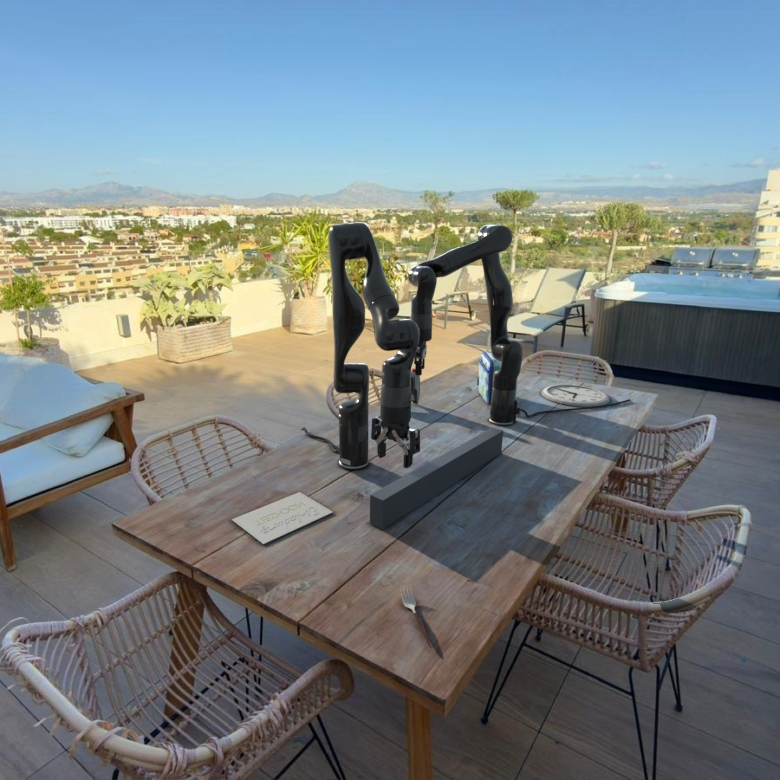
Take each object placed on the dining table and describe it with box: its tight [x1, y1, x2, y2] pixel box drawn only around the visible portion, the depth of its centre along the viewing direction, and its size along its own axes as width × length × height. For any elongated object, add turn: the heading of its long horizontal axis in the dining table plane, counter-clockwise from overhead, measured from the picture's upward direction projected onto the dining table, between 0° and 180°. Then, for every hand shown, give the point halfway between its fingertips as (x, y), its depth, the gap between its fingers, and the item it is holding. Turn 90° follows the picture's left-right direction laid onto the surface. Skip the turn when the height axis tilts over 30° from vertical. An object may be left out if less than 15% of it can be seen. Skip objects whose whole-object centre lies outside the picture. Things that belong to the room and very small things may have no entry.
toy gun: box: [411, 367, 421, 406], centre depth 218 cm, size 2×16×15 cm
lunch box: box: [476, 351, 502, 406], centre depth 230 cm, size 26×11×21 cm, turn 179°
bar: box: [369, 427, 504, 530], centre depth 155 cm, size 62×4×8 cm, turn 140°
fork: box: [399, 584, 432, 649], centre depth 101 cm, size 3×16×2 cm, turn 16°
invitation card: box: [231, 491, 334, 545], centre depth 137 cm, size 21×1×15 cm
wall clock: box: [541, 384, 611, 408], centre depth 239 cm, size 30×2×30 cm
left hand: (394, 461), depth 132 cm, fingers open, 8 cm apart
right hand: (419, 371), depth 183 cm, fingers open, 8 cm apart
